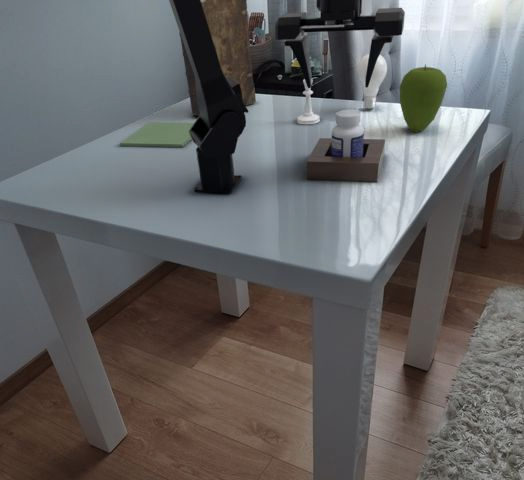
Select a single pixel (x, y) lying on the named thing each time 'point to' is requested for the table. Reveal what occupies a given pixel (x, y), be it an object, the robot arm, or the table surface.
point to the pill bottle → (347, 135)
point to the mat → (160, 135)
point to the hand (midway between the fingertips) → (337, 87)
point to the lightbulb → (375, 80)
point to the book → (226, 47)
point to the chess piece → (308, 109)
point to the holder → (346, 162)
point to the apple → (422, 96)
